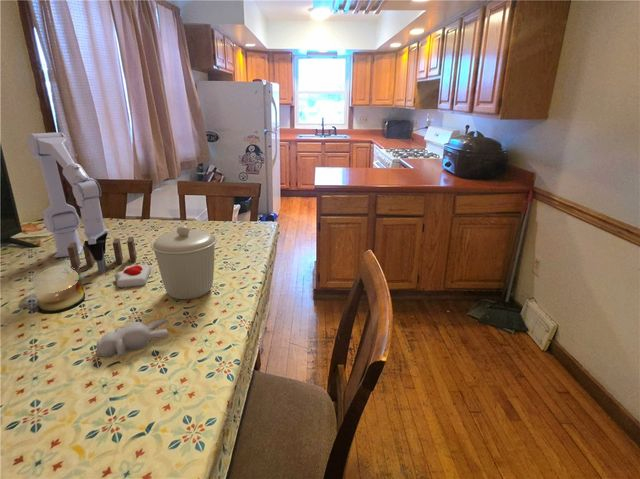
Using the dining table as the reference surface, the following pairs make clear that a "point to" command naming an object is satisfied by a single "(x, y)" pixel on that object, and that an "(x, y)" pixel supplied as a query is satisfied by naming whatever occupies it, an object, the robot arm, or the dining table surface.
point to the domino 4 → (131, 249)
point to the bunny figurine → (129, 338)
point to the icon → (133, 276)
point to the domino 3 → (117, 251)
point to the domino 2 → (88, 257)
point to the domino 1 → (74, 255)
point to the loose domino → (102, 265)
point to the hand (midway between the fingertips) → (100, 257)
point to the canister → (186, 261)
